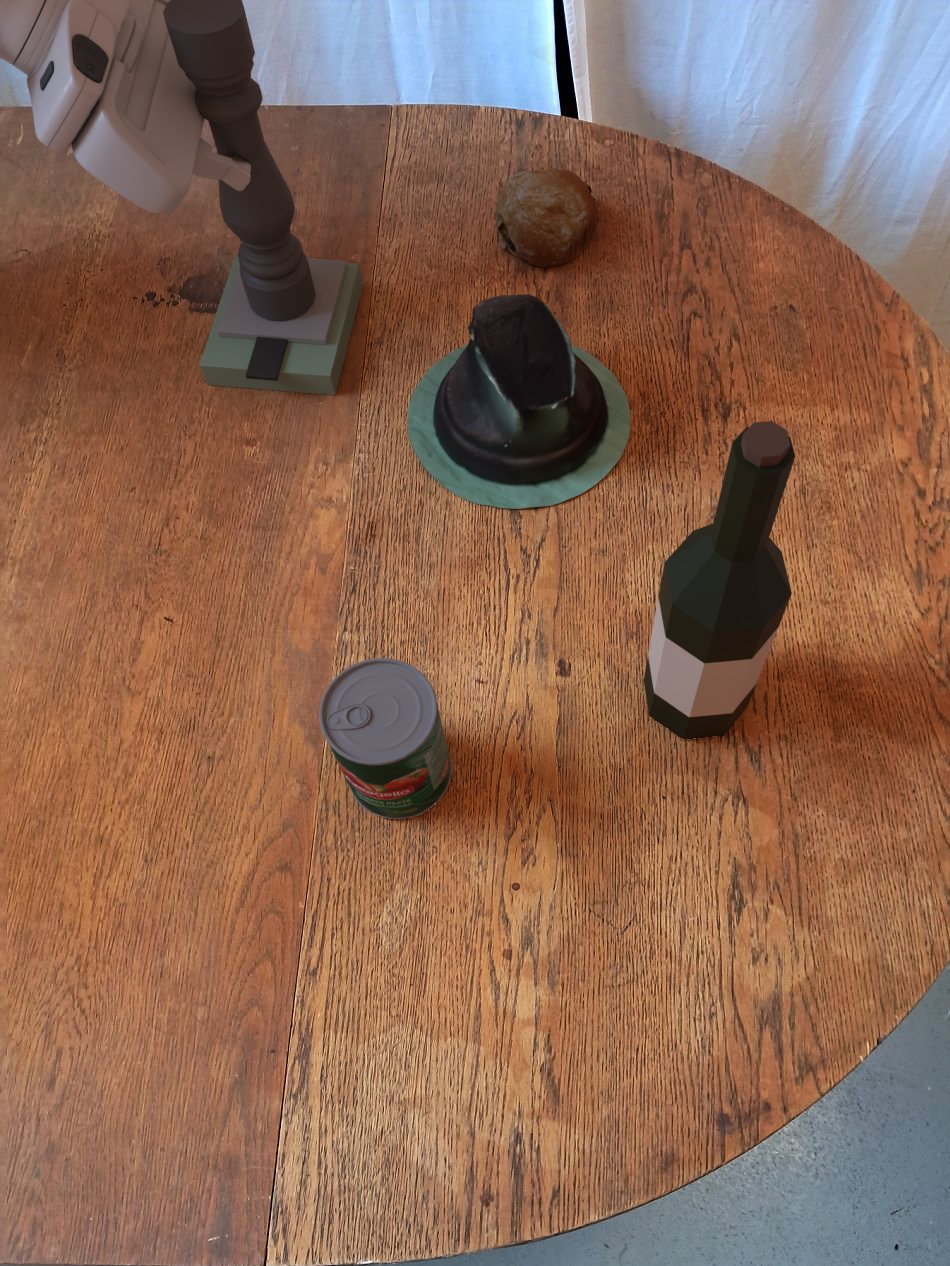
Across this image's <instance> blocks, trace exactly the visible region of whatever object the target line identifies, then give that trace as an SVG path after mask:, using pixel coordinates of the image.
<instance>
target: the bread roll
mask: <svg viewBox="0 0 950 1266" xmlns="http://www.w3.org/2000/svg"><path fill="white" fill-rule="evenodd" d="M592 192H593V188H592V187H591V186H590V184H588V183H586V181H584V180H583V179H581V178H580V177H579V175H577V173H575V172H573V171H571V169H565V168H563V169H561V168H560V169H558V168H556V167H549V168H547V169H535V170H520V171H518V172H516V173H515V174H513V175H512V176H511V177H510V178H509V179H507V180H506V181H505V183H504V185H503V186H502V188H501V190H500V192H499V195H498V198H497V200H496V203H495V208H496V210H495V221H496V222H495V223H496V232H497V233H498V234H499V236H498V237H499V238H498V244H499V246H500V249H502V250H504V251H508V252H509V253H510V254H512V255H513V256H515V257H516V258H519V259H521V260H522V261H525V262H527V263H529V264H531V265H533V266H536V267H541V268H551V267H556V266H560V265H564V264H567V263H570V262H572V261H574V260H576V259H577V257H579V256H580V255H581V254H582V253H583V251H585V249H586V248H587V247H588V245H589V244H590V243H591V241H592V240H593V238H594V234H595V232H596V231H597V226H598V214H599V210H598V207H597V203H596V198H595V197H594V196H593V195H592Z"/></svg>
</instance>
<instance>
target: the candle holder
mask: <svg viewBox="0 0 950 1266" xmlns="http://www.w3.org/2000/svg"><path fill="white" fill-rule="evenodd" d="M163 15H164V19H165V23H166V26H167V29H168V32H169V36H170V39H171V42H172V45H173V49H174V52H175V55H176V58H177V62H178V65H179V67H180V68H181V69H182V70H183V71H184V72H185V75H186V77H187V78H188V79H189V80H190V81H191V82H193V84H194V86H195V87H196V88H197V89H196V91H195V104H196V106H197V109H198V110H199V112H200V114H201V115H202V117H203V118H204V120H206V121H207V122H208V125H209V128H210V132H211V136H212V138H213V141H214V146H215V148H216V154H219V155H223V156H226V157H229V158H230V157H231V156H232V155H233V154H234V152H235V153H236V154H237V155H239V156H240V157H242V159H243V160H244V161H247V162H249V163H250V164H251V166H252V172H251V179H250V183H249V184H248V185H247V186H246V187H245V189H244V190H243V191H237V190H235V189H234V188H232V187H231V186H229V185H228V184H227V183H225V182H224V181H222V180H218V197H219V199H218V201H219V209H220V213H221V217H222V219H223V222H224V224H225V225H226V227H227V228H228V229H229V230H230V231H231V232H232V233H233V235H235V236H236V237H237V238H239V241H240V245H239V248H238V251H237V255H238V259H239V263H240V268H239V271H240V275H241V279H242V282H243V285H244V289H245V292H246V295H247V298H248V302H249V305H250V308H251V309H252V310H253V311H254V312H255V313H256V314H257V315H258V316H260V317H263V318H265V319H268V320H276V321H284V320H288V319H293V318H296V317H298V316H300V315H301V314H303V313H305V312H306V311H307V310H308V309H309V308H310V307H311V306H312V305H313V303H314V300H315V296H316V292H315V288H314V284H313V280H312V276H311V271H310V267H309V263H308V260H307V258H308V256H307V254H305V252H304V251H303V247H302V244H301V241H300V240H299V239H298V238H297V237H296V236H295V235H294V234H293V233H291V232H292V230H291V227H292V223H293V219H294V217H295V213H296V206H295V202H294V197H293V195H292V191H291V189H290V188H289V185H288V183H287V182H286V180H285V178H284V176H283V174H282V172H281V170H280V168H279V166H278V164H277V163H276V160H275V159H274V156H273V154H272V152H271V150H270V149H269V147H268V144H267V143H266V141H265V138H264V134H263V130H262V129H263V128H262V126H261V125H262V124H261V122H260V118H259V113H258V111H259V110H260V108H261V104H262V102H263V93H262V90H261V87H260V84H259V83H258V82H257V81H256V80H254V78H253V77H252V71H253V68H254V66H255V63H254V57H255V54H256V51H255V47H254V43H253V38H252V34H251V30H250V26H249V21H248V18H247V14H246V10H245V6H244V2H243V0H170V1H169V2H168V3H167V4H166V6H165V9H164V11H163Z"/></svg>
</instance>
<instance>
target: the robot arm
mask: <svg viewBox="0 0 950 1266" xmlns="http://www.w3.org/2000/svg"><path fill="white" fill-rule="evenodd" d="M169 1H170V0H0V60H2V61H5V62H7V63H8V64H10V65H12V66H13V67H14V68H16V69H17V70H19V71H21V73H23V74H24V75H26V85H27V88H28V92H29V97H30V101H31V102H30V104H31V110H32V117H33V124H34V132H35V136H36V138H37V140H38V141H39V142H40V143H42V145H44V146H45V147H47V148H48V149H50V150H51V151H53V152H54V153H58V154H61V155H64V154H65V153H67V151H68V150H69V149H70V147H71V149H72V154H73V156H74V158H75V160H76V161H77V163H78V164H80V166H81V167H82V168H83V169H84V170H85V171H86V172H87V173H88V174H89V175H90V176H92V177H93V178H95V180H97V181H99V182H100V183H102V184H103V185H105V186H106V187H108V188H109V189H111V190H112V191H113V192H114V193H117V194H118V195H120V196H121V197H123V198H124V199H125V200H127V201H129V202H131V203H132V204H134V205H135V206H137V207H138V208H141V209H142V210H143V211H146V212H148V213H150V214H153V215H158V216H159V215H161V216H164V215H165V216H169V215H171V214H173V212H174V211H175V210H176V208H178V207H179V205H180V204H181V202H182V201H183V200H184V198H185V197H186V195H187V194H188V192H189V191H190V188H191V184H192V179H193V175H195V176H196V177H198V178H203V179H210V180H215V181H219V180H222V181H224V182H225V183H227V184H228V185H229V186H231V187H232V188H234V189H235V190H237V191H243V190H244V189H245V187H246V186H247V185H248V184H249V183H250V179H251V172H252V166H251V164H250V163H249V162H247V161H244V160H243V159H242V157H240V156H239V155H237V154H236V153H235V152H234V154H233V155H232V156H231V157H230V158H229V157H226V156H223V155H219V154H217V152H213V148H214V147H213V146H212V145H211V144H210V143H209V142H208V141H206V140H204V139H203V138H202V134H203V133H202V132H203V127H204V123H205V119H204V118H203V117H202V115H201V114H200V112H199V110H198V109H197V106H196V104H195V91H196V89H197V88H196V87H195V86H194V84H193V82H191V81H190V80H189V79H188V78H187V77H186V75H185V72H184V71H183V70H182V69H181V68H180V67H179V65H178V62H177V58H176V55H175V52H174V49H173V45H172V42H171V39H170V36H169V32H168V29H167V26H166V23H165V19H164V15H163V11H164V9H165V6H166V4H167V3H168V2H169Z"/></svg>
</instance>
